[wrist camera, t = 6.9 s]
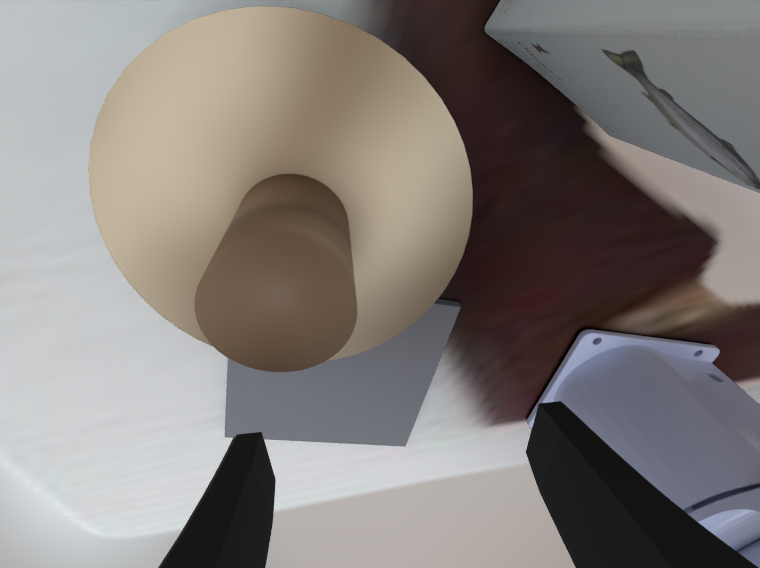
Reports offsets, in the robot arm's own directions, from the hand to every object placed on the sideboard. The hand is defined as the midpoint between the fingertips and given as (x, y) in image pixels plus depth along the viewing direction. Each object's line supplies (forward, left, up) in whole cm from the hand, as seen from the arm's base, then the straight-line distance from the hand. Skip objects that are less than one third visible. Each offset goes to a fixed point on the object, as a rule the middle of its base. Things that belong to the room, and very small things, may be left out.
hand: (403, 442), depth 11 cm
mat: (+1, +7, -10) cm, 12 cm away
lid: (+4, -4, -5) cm, 7 cm away
